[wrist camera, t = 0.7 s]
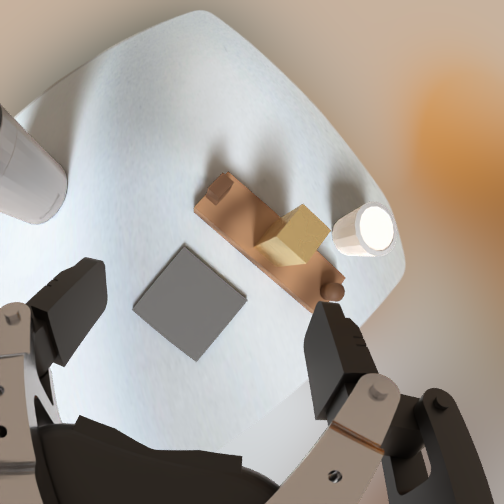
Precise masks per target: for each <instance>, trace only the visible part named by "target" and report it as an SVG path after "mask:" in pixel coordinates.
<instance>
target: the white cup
mask: <svg viewBox="0 0 504 504" xmlns="http://www.w3.org/2000/svg"><path fill="white" fill-rule="evenodd" d="M332 237H333V242H334V244H335V246H336V248H337V249H338V250H339V251H340V252H341V253H343V254H345V255H347V256H385V255H386V254H388V253H389V252H390V251H391V250H392V249H393V247H394V245H395V243H396V238H397V227H396V222H395V220H394V217H393V215H392V213H391V212H390V211H389V210H388V208H387V207H386V206H384V205H382V204H381V203H379V202H368V203H366V204H364V205H362V206H361V207H359V208H357V209H356V210H354V211H352V212H350V213H349V214H347V215H345V216H344V217H342V218H340V219H339V220H338V221H337V222H336V223H335V225H334V227H333V231H332Z"/></svg>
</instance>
